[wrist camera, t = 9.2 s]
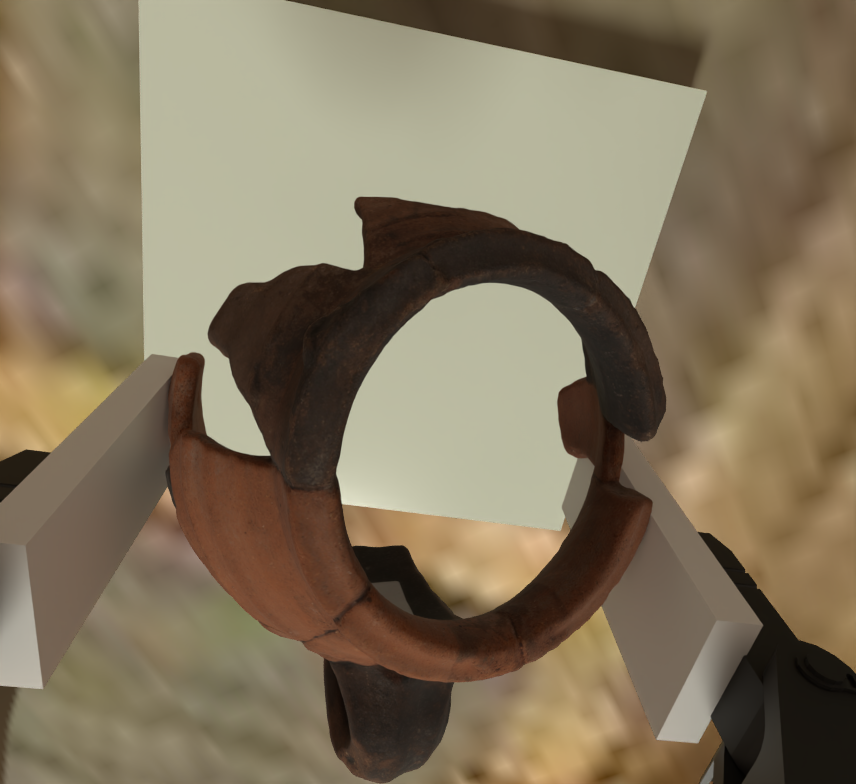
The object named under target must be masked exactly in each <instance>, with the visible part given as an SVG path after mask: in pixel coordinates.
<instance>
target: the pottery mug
mask: <svg viewBox="0 0 856 784" xmlns="http://www.w3.org/2000/svg"><path fill="white" fill-rule="evenodd" d="M354 209H355V212H356V214H357V215H358V216H359V217H360V219H362V237H363V245H364V263H363V268H361V269H359V270H350V269H345V268H341V267H338V266H334V265H331V264H327V263H321V264H317V265H305V266H297V267H294V268H291V269H289V270H287V271H284V272H283V273H281V274H279V275H278V276H277V277H275V278H273V279H272V280H270V281H268V282H247V283H244V284H240V285H238V286H237V287H235V288H234V289H233V290H232V291H231V292H230V294H229V295H228V297H227V299H226V300H225V301H224V303H223V304H222V306H221V307H220V309H219V311H218V312H217V314H216V315H215V316H214V318H213V320H212V321H211V324H210V326H209V329H208V333H207V334H208V339H209V342H210V343H211V344H212V345H213V346H214V347H216V348H217V349H218V350H219V351H220V352H221V353H222V354H223V355H224V356H225V357H227V358H229V363H230V368H231V372H232V376H233V378H234V381H235V383H236V386H237V388H238V390H239V391H240V393H241V394H242V396H243V397H244V399H245V400H246V402H247V403H248V404H249V406H250V408H251V410H252V414H253V417H254V419H255V421H256V423H257V426H258V428H259V430H260V432H261V433H262V436H263V439H264V442H265V445H266V447H267V449H268V451H269V453H270V455H271V456H257V455H250V454H245V453H240V452H236V451H234V450H231V449H229V448H227V447H225V446H223V445H221V444H219V443H218V442H216V441H215V440H214V439H212V438H211V437H209V436H207V433H206V429H205V424H204V418H203V409H202V398H201V393H202V380H203V372H204V366H205V359H204V357H203V355H201V354H200V353H196V352H191V353H189V354H187V355H181V356H180V357H179V358H178V360H177V362H176V365H175V368H174V371H173V375H172V378H171V382H170V386H169V392H168V407H169V414H168V435H169V439H170V445H171V448H170V451H169V466H168V467H167V470H166V471H165V476H166V481H167V486H168V489H169V491H170V494H171V497H172V501H173V504H174V506H175V508H176V514H177V519H178V522H179V524H180V527H181V529H182V531H183V533H184V534H185V536H186V538H187V540H188V542H189V543H190V545H191V547H192V549H193V550H194V552H195V553H196V555H197V556H198V557H199V559H200V560H201V561H202V563H203V564H204V565H205V566H206V567H207V569H208V570H209V572H210V573H211V575H212V576H213V577H214V578H215V580H216V581H217V582H218V583H219V584H220V585H221V586H222V587H223V589H224V590H225V591H226V592H227V593H228V594H229V595H231V596H232V597H233V598H234V599H235V601H236V602H237V603H238V604H239V605H240V606H241V607H242V608H243V609H244V610H245V611H246V612H247V613H249V614H250V615H251V616H252V617H253V618H254V619H256V620H258V621H259V623H260V624H261V625H262V626H263V627H264V628H266V629H267V630H269V631H270V632H272V633H274V634H277V635H279V636H281V637H285V638H289V639H294V640H297V641H301V642H302V643H303V644H304V646H305V647H306V648H307V649H308V650H310V651H312V652H315V653H317V654H319V655H320V656H321V657H323V658H324V686H325V698H326V708H327V718H328V724H329V729H330V738H331V742H332V745H333V748H334V751H335V753H336V755H337V757H338V758H339V759H340V760H341V761H343V762H344V764H345V765H346V766H347V767H348V769H349V770H350V772H351V773H352V774H354V775H355V776H357V777H360V778H363V779H366V780H369V781H372V782H376V783H386V782H390V781H391V780H393V779H394V778H396V777H398V776H400V775H401V774H403V773H406V772H409V771H413V770H415V769H418V768H420V767H421V766H422V765H424V764H425V762H426V761H427V760H428V759H429V757H430V756H431V754H432V753H433V751H434V750H435V749H436V747H437V746H438V745H439V743H440V742H441V740H442V737H443V735H444V732H445V729H446V726H447V723H448V719H449V713H450V707H451V691H452V687H453V684H454V682H471V681H476V680H484V679H488V678H492V677H496V676H501V675H504V674H506V673H509V672H513V671H516V670H518V669H520V668H521V667H522V666H523V665H525V664H527V663H530V662H533V661H536V660H537V659H539V658H541V657H543V656H544V655H545V654H546V653H547V652H549V651H551V650H553V649H555V648H556V647H557V646H559V644H560V643H561V642H563V641H565V640H566V639H567V638H568V637H570V635H571V634H572V633H573V632H575V631H576V630H578V629H579V628H580V627H581V626H582V625H583V624H584V623H585V622H587V621H588V620H589V619H590V617H591V616H592V615H593V614H594V613H595V612H596V611H597V610H598V609H599V607H600V606H602V605H603V603H604V602H605V601H606V599H607V597H608V595H609V593H610V592H611V590H612V589H613V588H614V587H615V586H616V585H617V584H618V583H619V582H620V580H621V578H622V576H623V574H624V572H625V571H626V569H627V568H628V566H629V564H630V563H631V561H632V559H633V557H634V555H635V553H636V551H637V549H638V547H639V544H640V543H641V541H642V538H643V536H644V534H645V532H646V529H647V526H648V523H649V520H650V515H651V513H652V506H653V502H652V500H651V499H650V498H648V497H646V496H645V495H643V494H641V493H640V492H638V491H636V490H634V489H631V488H626V487H624V486H622V485H621V484H620V482H619V479H620V472H621V467H622V464H623V457H624V447H625V434H626V435H627V436H630V437H631V438H634V439H636V440H638V441H641V442H642V441H648V440H650V439H652V438H653V437H654V436H655V435H656V433H657V429H658V427H659V424H660V422H661V420H662V419H663V416H664V414H665V411H666V395H665V391H664V387H663V377H662V375H661V371H660V367H659V362H658V359H657V357H656V356H655V353H654V351H653V347H652V344H651V341H650V338H649V335H648V332H647V330H646V327H645V325H644V324H643V322H642V320H641V318H640V316H639V315H638V312H637V310H636V309H635V308H634V306H633V305H632V303H631V300H630V299H629V298H628V297H627V296H626V295H625V294H624V293H623V291H622V290H621V289H620V288H619V287H618V286H617V285H616V284H615V283H614V282H613V281H612V280H611V279H610V278H609V277H608V276H607V275H606V274H605V273H604V272H602V271H599V270H595V269H594V267H593V265H592V263H591V262H590V261H589V259H587V258H586V257H584V256H582V255H581V254H579V253H577V252H576V251H575V250H574V249H572V248H571V247H570V246H569V245H568V244H566V243H562V242H559V241H554V240H552V239H548V238H546V237H545V236H541V235H538V234H534V233H531V232H529V231H524V230H519V229H518V228H517V227H516V226H515V225H514V224H513V223H511V222H510V221H508V220H507V219H504V218H501V217H497V216H494V215H492V214H490V213H487V212H482V211H476V210H468V209H465V208H452V207H445V206H439V205H433V204H428V203H422V202H416V201H408V200H402V199H399V198H394V197H362V196H361V197H358V198H356V200H355V202H354ZM482 283H500V284H508V285H513V286H518V287H522V288H525V289H528V290H530V291H532V292H535V293H536V294H538V295H540V296H541V297H543V298H545V299H546V300H548V301H549V302H550V303H552V305H553V306H554V307H555V308H556V309H558V310H559V312H560V313H561V314H563V315H564V316H565V317H566V318H567V319H568V320H569V322H570V323H571V324H572V325H573V327H574V328H575V330H576V332H577V333H578V334H579V336H580V337H581V341H582V349H583V353H584V358H585V371H586V377H583V378H581V379H578V380H576V381H574V382H573V383H572V384H570V385H568V386H565V387H563V388H562V389H561V390H560V391H559V394H558V399H557V407H558V421H559V426H560V431H561V439H562V442H563V446H564V448H565V450H566V452H567V453H568V454H570V455H572V456H574V457H575V458H581V459H582V458H588V459H589V460H590V461H591V462H592V464H593V465H594V466H595V467H594V471H593V474H592V477H591V483H590V486H589V489H588V492H587V496H586V499H585V501H584V503H583V506H582V508H581V510H580V513H579V515H578V517H577V519H576V521H575V523H574V525H573V527H572V528H571V530H570V533H569V534H568V536H567V537H566V539H565V540H564V541H563V543H562V545H561V547H560V549H559V551H558V552H557V553H556V554H555V556H554V557H553V558H552V559H551V561H550V562H549V563H548V564H547V565H546V566H545V567H544V568H543V570H542V571H541V572H540V573H539V574H538V575H537V577H536V578H535V579H534V580H533V581H532V582H531V583H530V584H528V585H527V586H526V587H525V588H524V589H523V590H522V591H521V592H520V593H518V594H517V595H516V596H515V597H513V598H512V599H511V600H509V601H508V602H506V603H504V604H502V605H500V606H499V607H497V608H496V609H494V610H492V611H490V612H487V613H485V614H482V615H479V616H475V617H471V618H466V619H462V618H460V617H458V616H456V615H454V614H453V612H452V611H451V609H450V608H449V607H448V606H447V605H446V604H445V603H444V602H443V601H442V600H441V599H440V598H439V597H438V596H437V594H435V593H434V592H433V591H432V590H431V589H430V587H429V585H428V583H427V582H426V580H425V579H424V577H423V576H422V574H421V573H420V572H419V571H418V569H417V567H416V565H415V564H414V562H413V560H412V558H411V555H410V552H409V550H408V549H407V548H406V547H405V546H402V545H401V546H387V547H367V546H353V547H352V546H351V543H350V540H349V538H348V534H347V531H346V527H345V521H344V516H343V509H342V502H341V492H340V486H339V481H338V478H337V475H336V470H337V466H338V462H339V458H340V454H341V447H342V441H343V436H344V432H345V428H346V424H347V420H348V417H349V414H350V411H351V408H352V405H353V402H354V399H355V397H356V395H357V392H358V390H359V388H360V386H361V384H362V382H363V380H364V379H365V377H366V375H367V373H368V372H369V370H370V368H371V367H372V366H373V364H374V363H375V361H376V360H377V358H378V356H379V355H380V353H381V352H382V350H383V349H384V347H385V346H386V345H387V344H388V343H389V341H390V340H391V339H392V337H393V336H394V335H395V334H396V333H397V332H398V331H399V330H400V329H401V328H402V327H403V326H404V325H405V324H406V323H407V322H408V321H409V320H410V319H411V318H412V317H413V316H415V315H416V314H417V313H418V312H420V311H421V310H422V309H423V308H424V307H425V306H426V305H427V304H428V303H429V302H430V301H431V300H432V299H435V298H438V297H441V296H444V295H445V294H447V293H448V292H451V291H453V290H457V289H460V288H464V287H467V286H472V285H478V284H482Z"/></svg>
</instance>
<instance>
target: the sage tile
mask: <svg viewBox="0 0 856 784" xmlns="http://www.w3.org/2000/svg"><path fill="white" fill-rule="evenodd" d="M139 55H140V117H141V180H142V243H143V306H144V361H145V360H146V359H147V358H148V357H149V356H150V355H151V354H156V355H163V356H170V357H177V358H179V357H180V356H181V355H187V354H189V353H191V352H196V353H200V354H201V355H203V357H204V359H205V366H204V372H203V380H202V393H201V398H202V409H203V418H204V424H205V429H206V433H207V436H209V437H211V438H212V439H214V440H215V441H216V442H218V443H219V444H221V445H223V446H225V447H227V448H229V449H231V450H234V451H236V452H240V453H245V454H250V455H257V456H271V455H270V453H269V451H268V449H267V447H266V445H265V442H264V439H263V436H262V433H261V432H260V430H259V428H258V426H257V423H256V421H255V419H254V417H253V414H252V410H251V408H250V406H249V404H248V403H247V402H246V400H245V399H244V397H243V396H242V394H241V393H240V391H239V390H238V388H237V386H236V383H235V381H234V378H233V376H232V372H231V368H230V363H229V358H227V357H225V356H224V355H223V354H222V353H221V352H220V351H219V350H218V349H217V348H216V347H214V346H213V345H212V344H211V343H210V342H209V339H208V334H207V333H208V329H209V326H210V324H211V321H212V320H213V318H214V316H215V315H216V314H217V312H218V311H219V309H220V307H221V306H222V304H223V303H224V301H225V300H226V299H227V297H228V295H229V294H230V292H231V291H232V290H233V289H234V288H235V287H237V286H238V285H240V284H244V283H247V282H268V281H270V280H272V279H273V278H275V277H277V276H278V275H279V274H281V273H283V272H284V271H287V270H289V269H291V268H294V267H297V266H305V265H317V264H321V263H327V264H331V265H334V266H338V267H341V268H345V269H350V270H359V269H361V268H363V263H364V245H363V237H362V219H360V217H359V216H358V215H357V214H356V212H355V209H354V202H355V200H356V198H358V197H361V196H362V197H394V198H399V199H402V200H408V201H416V202H422V203H428V204H433V205H439V206H445V207H452V208H465V209H468V210H476V211H482V212H487V213H490V214H492V215H494V216H497V217H501V218H504V219H507V220H508V221H510V222H511V223H513V224H514V225H515V226H516V227H517V228H518V229H519V230H524V231H529V232H531V233H534V234H538V235H541V236H545V237H546V238H548V239H552V240H554V241H559V242H562V243H566V244H568V245H569V246H570V247H571V248H572V249H574V250H575V251H576V252H577V253H579V254H581V255H582V256H584V257H586V258H587V259H589V261H590V262H591V263H592V265H593V267H594V269H595V270H599V271H602V272H604V273H605V274H606V275H607V276H608V277H609V278H610V279H611V280H612V281H613V282H614V283H615V284H616V285H617V286H618V287H619V288H620V289H621V290H622V291H623V293H624V294H625V295H626V296H627V297H628V298H629V299H630V300H631V303H632V305H633V306H634V308H635V306H636V303H637V300H638V297H639V294H640V291H641V288H642V285H643V282H644V279H645V276H646V273H647V270H648V267H649V264H650V261H651V258H652V255H653V252H654V249H655V246H656V243H657V240H658V237H659V234H660V231H661V228H662V225H663V222H664V219H665V216H666V213H667V210H668V207H669V204H670V201H671V198H672V195H673V192H674V189H675V186H676V183H677V180H678V177H679V174H680V171H681V168H682V165H683V162H684V159H685V156H686V153H687V150H688V147H689V144H690V141H691V138H692V135H693V132H694V129H695V126H696V123H697V120H698V117H699V114H700V111H701V108H702V105H703V102H704V99H705V96H706V93H707V91H705V90H700V89H695V88H691V87H686V86H681V85H677V84H672V83H667V82H663V81H658V80H653V79H649V78H644V77H640V76H635V75H630V74H626V73H621V72H616V71H612V70H607V69H602V68H598V67H593V66H588V65H584V64H579V63H574V62H570V61H565V60H560V59H556V58H551V57H547V56H542V55H537V54H533V53H528V52H523V51H519V50H514V49H509V48H505V47H500V46H495V45H491V44H486V43H481V42H477V41H472V40H467V39H463V38H458V37H454V36H449V35H444V34H440V33H435V32H430V31H426V30H421V29H416V28H412V27H407V26H402V25H398V24H393V23H388V22H384V21H379V20H374V19H370V18H365V17H361V16H356V15H351V14H347V13H342V12H337V11H333V10H328V9H323V8H319V7H314V6H309V5H305V4H300V3H295V2H291V1H286V0H139ZM583 377H586V371H585V358H584V353H583V349H582V341H581V337H580V336H579V334H578V333H577V332H576V330H575V328H574V327H573V325H572V324H571V323H570V322H569V320H568V319H567V318H566V317H565V316H564V315H563V314H561V313H560V312H559V310H558V309H556V308H555V307H554V306H553V305H552V303H550V302H549V301H548V300H546V299H545V298H543V297H541V296H540V295H538V294H536V293H535V292H532V291H530V290H528V289H525V288H522V287H518V286H513V285H508V284H500V283H482V284H478V285H472V286H467V287H464V288H460V289H457V290H453V291H451V292H448V293H447V294H445V295H444V296H441V297H438V298H435V299H432V300H431V301H430V302H429V303H428V304H427V305H426V306H425V307H424V308H423V309H422V310H421V311H420V312H418V313H417V314H416V315H415V316H413V317H412V318H411V319H410V320H409V321H408V322H407V323H406V324H405V325H404V326H403V327H402V328H401V329H400V330H399V331H398V332H397V333H396V334H395V335H394V336H393V337H392V339H391V340H390V341H389V343H388V344H387V345H386V346H385V347H384V349H383V350H382V352H381V353H380V355H379V356H378V358H377V360H376V361H375V363H374V364H373V366H372V367H371V368H370V370H369V372H368V373H367V375H366V377H365V379H364V380H363V382H362V384H361V386H360V388H359V390H358V392H357V395H356V397H355V399H354V402H353V405H352V408H351V411H350V414H349V417H348V420H347V424H346V428H345V432H344V436H343V441H342V447H341V454H340V458H339V462H338V466H337V470H336V475H337V478H338V481H339V486H340V492H341V502H342V504H347V505H355V506H363V507H372V508H380V509H388V510H396V511H404V512H412V513H420V514H428V515H436V516H444V517H453V518H461V519H469V520H477V521H485V522H493V523H501V524H509V525H517V526H526V527H534V528H542V529H550V530H558V531H561V528H562V525H563V522H564V519H565V515H564V512H563V510H562V504H563V501H564V498H565V495H566V492H567V489H568V486H569V483H570V480H571V477H572V474H573V471H574V468H575V465H576V462H577V459H578V458H575V457H574V456H572V455H570V454H568V453H567V452H566V450H565V448H564V446H563V442H562V439H561V431H560V426H559V421H558V407H557V399H558V394H559V391H560V390H561V389H562V388H563V387H565V386H568V385H570V384H572V383H573V382H574V381H576V380H578V379H581V378H583Z"/></svg>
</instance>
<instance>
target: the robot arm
mask: <svg viewBox="0 0 856 784" xmlns="http://www.w3.org/2000/svg"><path fill="white" fill-rule="evenodd" d="M177 360H178V358H177V357H170V356H163V355H156V354H151V355H150V356H149V357H148V358H147V359H146V360H145V361H144V362H143V363H142V364H141V365H140V366H139V367H138V368H137V369H136V370H135V371H134V372H133V373H132V374H131V375H130V376H129V377H128V378H127V379H126V380H125V381H124V382H123V383H122V384H121V385H120V386H118V387H117V388H116V389H115V390H114V391H113V392H112V393H111V394H110V395H109V396H108V397H107V398H106V399H105V400H104V401H103V402H102V403H101V404H100V405H99V406H98V407H97V408H96V409H95V410H94V411H93V412H92V413H91V414H90V415H89V416H88V417H87V418H86V419H85V420H84V421H83V422H82V423H81V424H80V425H79V426H78V427H77V428H76V429H75V430H74V431H73V432H72V433H71V434H70V435H69V436H68V437H67V438H66V439H65V440H64V441H63V442H62V443H61V444H60V445H59V446H58V447H57V448H55V449H54V450H53V451H52V452H51V453H50V452H42V451H34V450H24V451H22V452H20V453H18V454H16V455H13V456H11V457H9V458H7V459H5V460H3V461H1V462H0V685H1V686H13V687H25V688H37V689H43V688H44V687H45V685H46V683H47V682H48V680H49V678H50V677H51V675H52V674H53V672H54V670H55V669H56V667H57V665H58V664H59V662H60V661H61V659H62V657H63V656H64V654H65V652H66V651H67V649H68V648H69V646H70V644H71V643H72V641H73V639H74V638H75V636H76V635H77V633H78V631H79V630H80V628H81V626H82V625H83V623H84V622H85V620H86V618H87V617H88V615H89V613H90V612H91V610H92V609H93V607H94V605H95V604H96V602H97V600H98V599H99V597H100V596H101V594H102V592H103V591H104V589H105V587H106V586H107V584H108V583H109V581H110V579H111V578H112V576H113V574H114V573H115V571H116V570H117V568H118V566H119V565H120V563H121V561H122V560H123V558H124V557H125V555H126V553H127V552H128V550H129V548H130V547H131V545H132V544H133V542H134V540H135V539H136V537H137V535H138V534H139V532H140V531H141V529H142V527H143V526H144V524H145V522H146V521H147V519H148V518H149V516H150V514H151V513H152V511H153V509H154V508H155V506H156V505H157V503H158V501H159V500H160V498H161V496H162V495H163V493H164V492H165V490H166V488H167V487H168V486H167V481H166V476H165V471H166V470H167V467H168V466H169V451H170V448H171V445H170V439H169V435H168V414H169V407H168V392H169V386H170V382H171V378H172V375H173V371H174V368H175V365H176V362H177ZM594 467H595V466H594V465H593V464H592V462H591V461H590V460H589V459H588V458H582V459H581V458H578V459H577V462H576V465H575V468H574V471H573V474H572V477H571V480H570V483H569V486H568V489H567V492H566V495H565V498H564V501H563V504H562V510H563V512H564V515H565V517H566V520H567V522H568V525H569V527H570V529H571V528H572V527H573V525H574V523H575V521H576V519H577V517H578V515H579V513H580V510H581V508H582V506H583V503H584V501H585V499H586V496H587V492H588V489H589V486H590V483H591V477H592V474H593V471H594ZM619 482H620V484H621V485H622V486H624V487H626V488H631V489H634V490H636V491H638V492H640V493H641V494H643V495H645V496H646V497H648V498H650V499H651V500H652V502H653V506H652V513H651V515H650V520H649V523H648V526H647V529H646V532H645V534H644V536H643V538H642V541H641V543H640V544H639V547H638V549H637V551H636V553H635V555H634V557H633V559H632V561H631V563H630V564H629V566H628V568H627V569H626V571H625V572H624V574H623V576H622V578H621V580H620V582H619V583H618V584H617V585H616V586H615V587H614V588H613V589H612V590H611V592H610V593H609V595H608V597H607V599H606V601H605V602H604V603H603V605H602V608H603V611H604V613H605V615H606V618H607V620H608V623H609V625H610V628H611V630H612V633H613V635H614V638H615V640H616V643H617V645H618V647H619V650H620V652H621V655H622V657H623V660H624V662H625V665H626V667H627V670H628V672H629V674H630V677H631V679H632V682H633V684H634V687H635V689H636V692H637V694H638V697H639V699H640V701H641V704H642V706H643V709H644V711H645V714H646V716H647V719H648V721H649V724H650V726H651V729H652V731H653V733H654V736H655V738H656V740H665V741H677V742H689V743H698V742H699V741H700V739H701V737H702V735H703V733H704V732H705V730H706V728H707V726H708V724H709V722H710V721H711V719H712V720H713V722H714V724H715V726H716V728H717V730H718V732H719V734H720V736H721V738H722V740H723V741H722V743H721V744H720V746H719V748H718V750H717V751H716V753H715V755H714V757H713V758H712V760H711V762H710V764H709V765H708V767H707V769H706V770H705V772H704V774H703V776H702V777H701V779H700V782H699V784H709V783H710V782H711V781H713V784H856V674H855V672H854V671H853V670H852V669H851V668H850V667H849V666H847V665H846V664H845V663H844V662H842V661H841V660H840V659H838V658H837V657H836V656H835V655H833V654H831V653H829V652H827V651H825V650H824V649H822V648H820V647H818V646H816V645H813V644H810V643H806V642H803V641H799V640H798V639H797V638H796V636H795V635H794V634H793V632H792V631H791V630H790V628H789V627H788V626H787V624H786V623H785V622H784V620H783V619H782V618H781V616H780V615H779V614H778V612H777V611H776V610H775V609H774V607H773V606H772V605H771V603H770V602H769V601H768V599H767V598H766V597H765V595H764V594H763V593H762V591H761V590H760V589H757V585H756V583H755V582H754V581H753V579H752V578H751V577H750V575H749V574H748V573H745V569H744V567H743V566H742V565H741V563H740V562H739V561H738V559H737V558H736V557H735V555H734V554H733V553H732V551H731V550H729V549H728V548H727V547H726V546H725V545H723V544H722V543H721V542H720V541H718V540H717V539H716V538H715V537H713V536H712V535H711V534H710V533H702V532H697V531H696V529H695V528H694V526H693V525H692V524H691V522H690V521H689V519H688V518H687V517H686V515H685V514H684V512H683V511H682V509H681V508H680V507H679V505H678V504H677V502H676V501H675V500H674V498H673V497H672V495H671V494H670V492H669V491H668V490H667V488H666V487H665V485H664V484H663V482H662V481H661V480H660V478H659V477H658V475H657V474H656V473H655V471H654V470H653V468H652V467H651V465H650V464H649V463H648V461H647V460H646V458H645V457H644V456H643V454H642V453H641V451H640V450H639V448H638V447H637V446H636V444H635V443H634V441H633V440H632V439H631V437H630V436H627V435H626V434H625V447H624V457H623V464H622V467H621V472H620V479H619Z"/></svg>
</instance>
